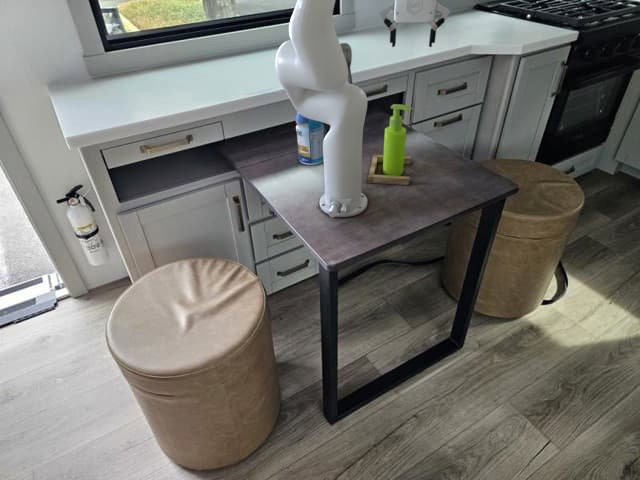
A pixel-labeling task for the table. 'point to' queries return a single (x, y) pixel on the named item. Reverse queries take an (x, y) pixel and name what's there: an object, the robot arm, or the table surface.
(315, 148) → the blue labeled canister
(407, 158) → the holder
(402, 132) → the soap dispenser
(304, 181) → the table surface
